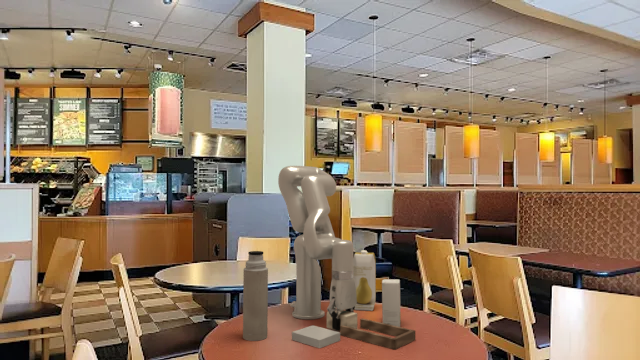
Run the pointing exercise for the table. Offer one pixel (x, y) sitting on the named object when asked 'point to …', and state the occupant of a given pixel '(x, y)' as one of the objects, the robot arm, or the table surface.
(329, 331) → the plate
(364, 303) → the juice carton
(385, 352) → the table surface
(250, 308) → the thermos bottle
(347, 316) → the parcel
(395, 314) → the skincare box
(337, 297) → the robot arm
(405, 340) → the shelf bay
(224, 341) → the table surface
